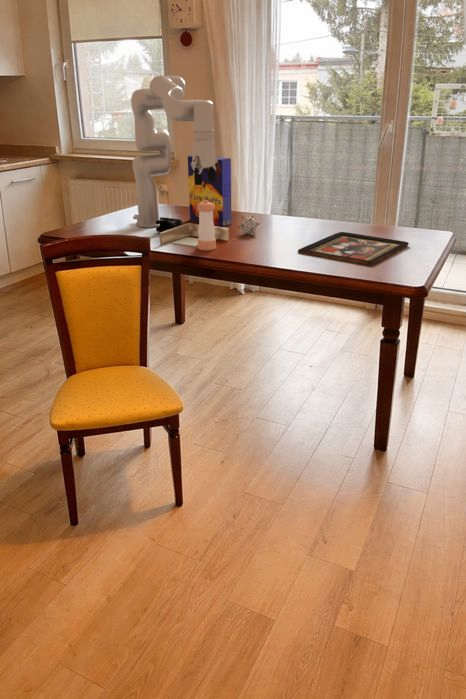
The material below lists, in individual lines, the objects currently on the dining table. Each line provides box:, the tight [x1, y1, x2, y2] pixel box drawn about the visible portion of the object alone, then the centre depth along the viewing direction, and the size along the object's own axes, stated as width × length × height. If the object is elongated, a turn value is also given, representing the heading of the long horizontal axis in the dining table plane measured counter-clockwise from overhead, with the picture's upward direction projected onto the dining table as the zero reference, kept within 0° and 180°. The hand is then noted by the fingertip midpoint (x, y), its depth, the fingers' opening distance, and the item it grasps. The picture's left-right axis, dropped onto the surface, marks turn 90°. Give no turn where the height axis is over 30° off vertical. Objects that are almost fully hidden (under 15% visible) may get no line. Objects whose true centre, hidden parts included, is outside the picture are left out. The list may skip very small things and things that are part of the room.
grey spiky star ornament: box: [237, 215, 260, 236], centre depth 258 cm, size 9×8×10 cm
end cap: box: [155, 216, 184, 236], centre depth 261 cm, size 10×7×7 cm
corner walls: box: [159, 222, 230, 246], centre depth 247 cm, size 21×21×5 cm
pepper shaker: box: [197, 200, 217, 251], centre depth 235 cm, size 7×7×19 cm
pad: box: [172, 236, 199, 247], centre depth 248 cm, size 11×11×1 cm
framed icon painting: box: [297, 231, 410, 267], centre depth 235 cm, size 38×35×3 cm
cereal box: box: [187, 154, 233, 227], centre depth 276 cm, size 22×6×30 cm, turn 48°
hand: (205, 183), depth 228 cm, fingers open, 9 cm apart
